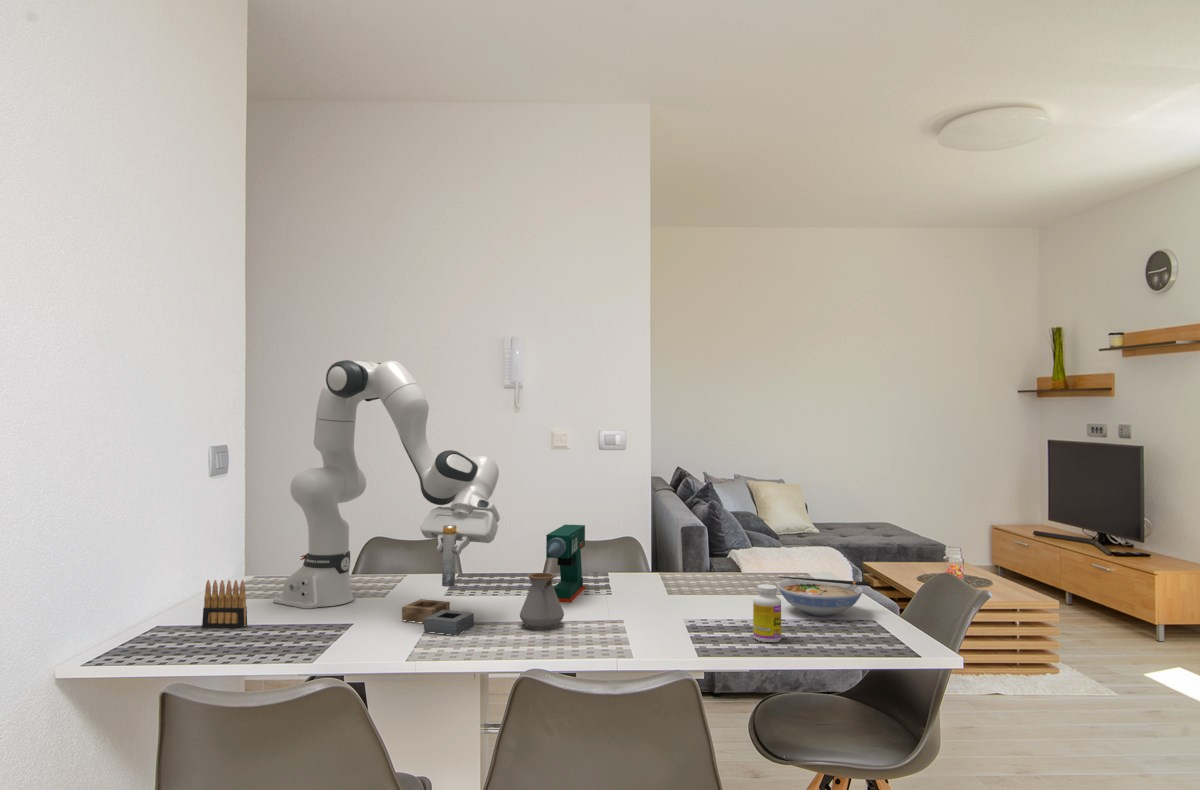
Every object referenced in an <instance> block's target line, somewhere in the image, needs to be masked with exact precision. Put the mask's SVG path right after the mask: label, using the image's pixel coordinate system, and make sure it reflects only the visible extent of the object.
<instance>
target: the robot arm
mask: <svg viewBox="0 0 1200 790" xmlns="http://www.w3.org/2000/svg"><path fill="white" fill-rule="evenodd" d="M325 382H326V384H324V386H323V387H322V388H321V392H320V395H319V398H318V402H317V408H316V412H315V413H316V414H315V422H314V423H315V424H314V435H313V445H314V448H315V449H316V450H317V451H319V453H320V455H321V458H322V463H323V464H322V465H323V467H313V468H309V469H306V470H303V471H301V472H299V473H297V474H296V475H295V476H294V477H293V478H292V480H291V482H290V495H291V498H292V499H293V501H294V502H295V503H296V504H297V505H299V506H300V508H301V509H302V511H303V513H304V516H305V519H306V524H307V530H308V533H307V534H308V552H307V553H306V554H304V555H301V556H300V561H303V560H304V561H303V562H302V563H303V564H302V566H301V567H299V569H297V570H296V571H295V572H293V573H292V574H291V575H290V576H289V577H287V578H286V579H285V581H284V584H283V587H282V594H280V595H278V596H276V597H274V599H273V603H275V604H280V605H287V606H290V607H291V606H292V607H296V608H301V609H313V608H315V609H316V608H319V607H321V608H322V607H323V608H324V607H334V606H340V605H344V604H347V603H350V602H352V601H354V600H355V597H354V593H353V591H352V586H351V578H350V566H351V550H350V548H349V547H350V526H349V523H348V522H347V520H345V519H344V518H343V517H342V515H341V514H340V510H339V505H338V504H343V503H348V502H350V501H352V500H355V499H357V498H359V497H360V496H362V495H363V494H364V492H365V490H366V487H367V478H366V475H365V474H364V472H363V470H361V469H360V467H359V465H358V462H357V458H356V454H355V431H356V421H357V420H356V419H357V409H358V405H359V404H360V403H361V402H362V401H364V402H365V401H366V402H371V401H376V400H379V399H380V401H381V402H382V405H383V406H384V408H385V410H386V412H387V413H388V415H389V416H390V418H391V421H392V422H393V424H394V427H395V429H396V431H397V434H398V436H399V439H400V441H401V444H402V446H403V448H404V450H405V452H406V454H407V456H408V458H409V460H410V462H411V464H412V466H413V467H414V470H415V472H416V474H417V477H418V479H419V486H420V491H421V493H422V496H423V497H424V499H426V501H428V502H429V503H431V504H433V505H436V506H437V505H438V506H437V507H435V508H433V509H431V510H430V511H429V513H428V515H427V516H426V517H425V519H424V521H423V522H422V524H421V526H420V531H421V534H422V535H423V536H424V538H426V539H433V540H437V542H438V545H437V547H436V552H437V553H441V554H443V526H444V525H456V526H457V533H456V542H458V541H459V543H458V544H456V545H455V546H454V548H453V552H454V554H456V555H461V553H462V551H463V550H464V549H466V548H467V547H468V546H469V545H470V543H482V544H484V543H485V544H490V543H491V542H493V541H494V539H495V537H496V536H497V532H498V527H499V524H498V523H499V521H500V519H501V517H500V514H499V512H498V509H497V507H496V506H495V504H494V503H493V502H492V501H489V499H490V498H491V497H492V495H493V494H494V492H495V489H496V485H497V482H498V480H499V475H500V471H499V466H498V465H497V463H496V462H495V460H494V459H492V458H490V456H486V455H477V456H472V455H471V456H470V455H465V454H463V453H461V452H460V451H457V450H451V449H450V450H447V449H446V450H443V451H442V452H440V453H439V454H438V455H437V456H436V457H435V455H434V454H433V451H432V449H431V447H430V445H429V443H428V441H427V421H428V417H429V411H430V407H429V406H430V405H429V403H428V400H427V397H426V394H425V392H424V391H423V389H422V387H420V385H419V383H418V382H417V381H416V379H415V378H414V376H413V375H412V374H411V373H410V372H409V370H407V369H406V367H405V366H404V365H403V364H401V363H400V362H399V361H396V360H386V361H384V362H382V363H380V362H373V361H369V360H349V359H346V360H339V361H336V362H334V363H332V364H331V365H330V366H329V368H328V369H327V371H326V376H325ZM448 504H449V505H450V506H446V505H448ZM444 506H445V507H444Z"/></svg>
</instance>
